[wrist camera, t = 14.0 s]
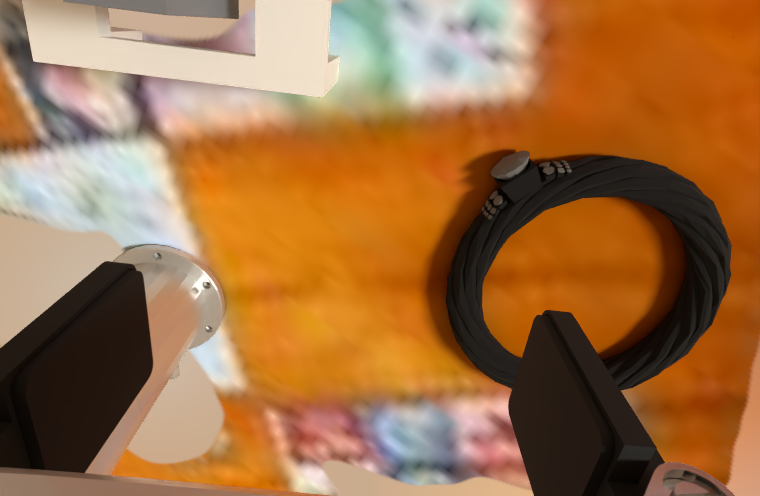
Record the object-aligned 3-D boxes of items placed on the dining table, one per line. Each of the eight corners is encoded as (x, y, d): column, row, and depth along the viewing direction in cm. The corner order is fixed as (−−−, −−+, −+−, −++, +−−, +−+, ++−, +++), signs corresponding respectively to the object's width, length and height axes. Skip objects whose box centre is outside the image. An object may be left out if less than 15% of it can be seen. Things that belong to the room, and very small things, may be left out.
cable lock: (526, 443, 54) (378, 248, 43) (518, 417, 57) (379, 231, 47) (777, 333, 47) (673, 68, 36) (751, 312, 50) (648, 64, 40)
